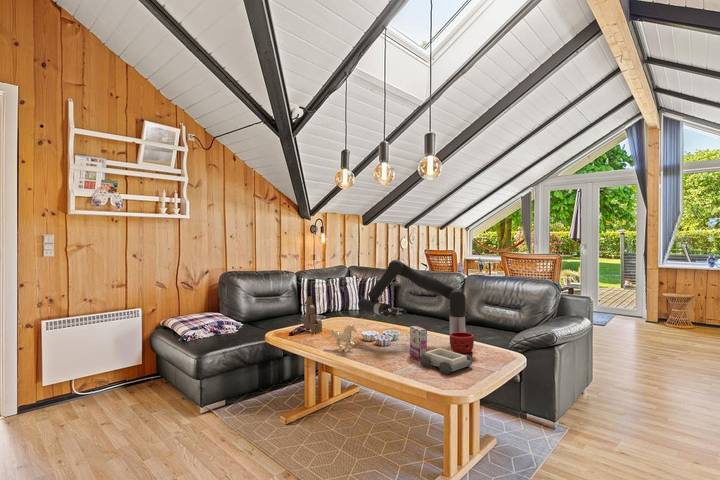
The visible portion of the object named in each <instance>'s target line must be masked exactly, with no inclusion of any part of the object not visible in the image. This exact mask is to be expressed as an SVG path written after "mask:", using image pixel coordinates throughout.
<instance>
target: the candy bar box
mask: <svg viewBox="0 0 720 480" xmlns="http://www.w3.org/2000/svg"><path fill="white" fill-rule="evenodd" d="M425 352H428V330H427V329H425V328H423V327H420V326H418V325H412V326H409V355H410V356H411V357H412V358H413V359H416V361H417V360H418V361H419V362H420V357H421V356H422V355H425Z"/></svg>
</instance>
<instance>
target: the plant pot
mask: <svg viewBox="0 0 720 480" xmlns="http://www.w3.org/2000/svg"><path fill="white" fill-rule="evenodd" d="M474 342H475V335H474V334H472V333H470V332H466V333H465V332H455V333H451V334H450V333H449V345H450V347H451V350H452V352H455V353H458V354H462V355H465V354H467V355H469V356H470V357H471V358H472V356H474V352H473V349H474Z"/></svg>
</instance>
